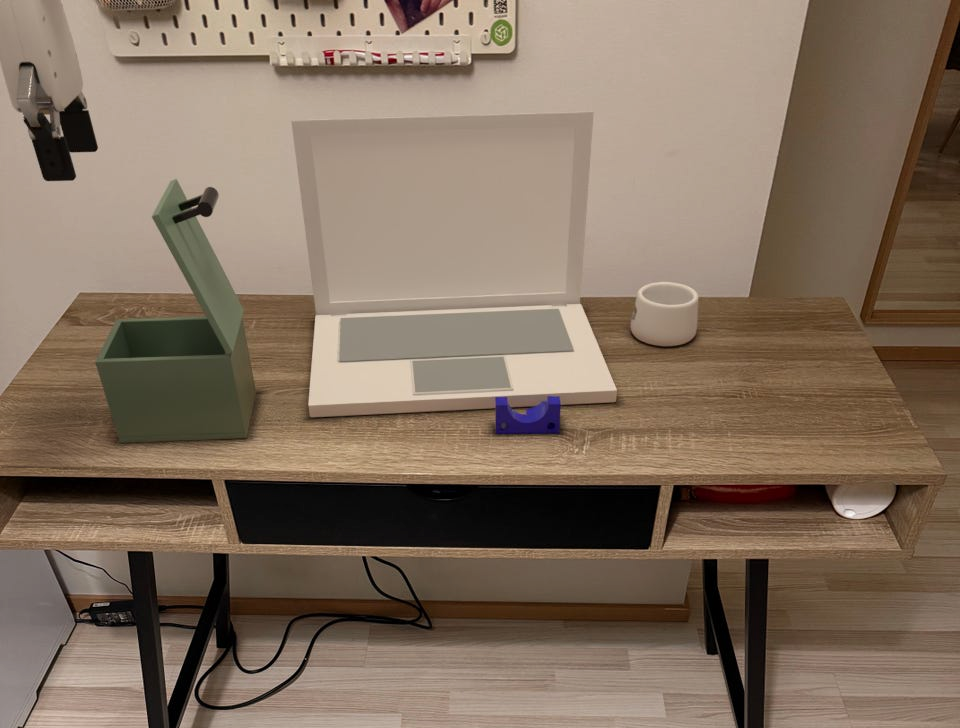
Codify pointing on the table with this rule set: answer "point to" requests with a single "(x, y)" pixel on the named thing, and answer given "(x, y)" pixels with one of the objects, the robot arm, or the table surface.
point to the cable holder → (528, 417)
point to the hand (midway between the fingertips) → (72, 165)
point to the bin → (175, 381)
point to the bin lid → (199, 259)
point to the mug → (665, 314)
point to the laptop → (448, 262)
